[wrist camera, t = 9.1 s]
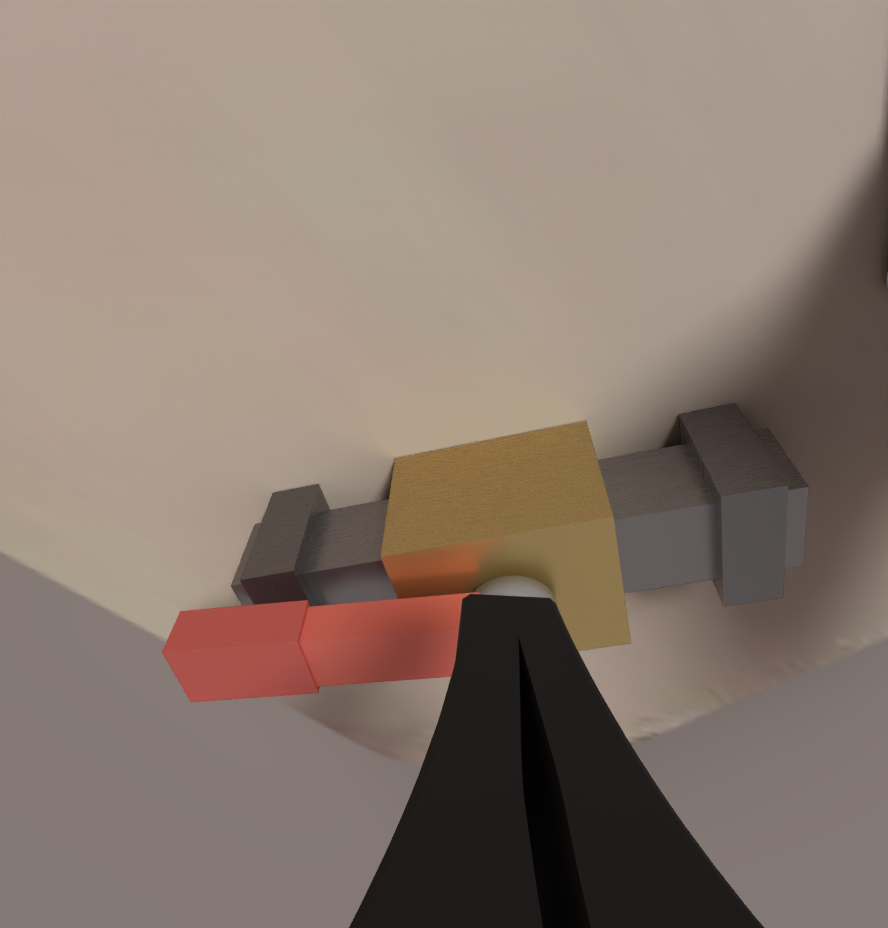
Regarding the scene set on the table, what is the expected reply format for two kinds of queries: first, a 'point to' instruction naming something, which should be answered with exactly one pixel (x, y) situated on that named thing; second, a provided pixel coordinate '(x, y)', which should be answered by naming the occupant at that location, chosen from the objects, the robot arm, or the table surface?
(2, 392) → the table surface
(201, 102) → the table surface
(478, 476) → the pipe valve
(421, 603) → the lever
